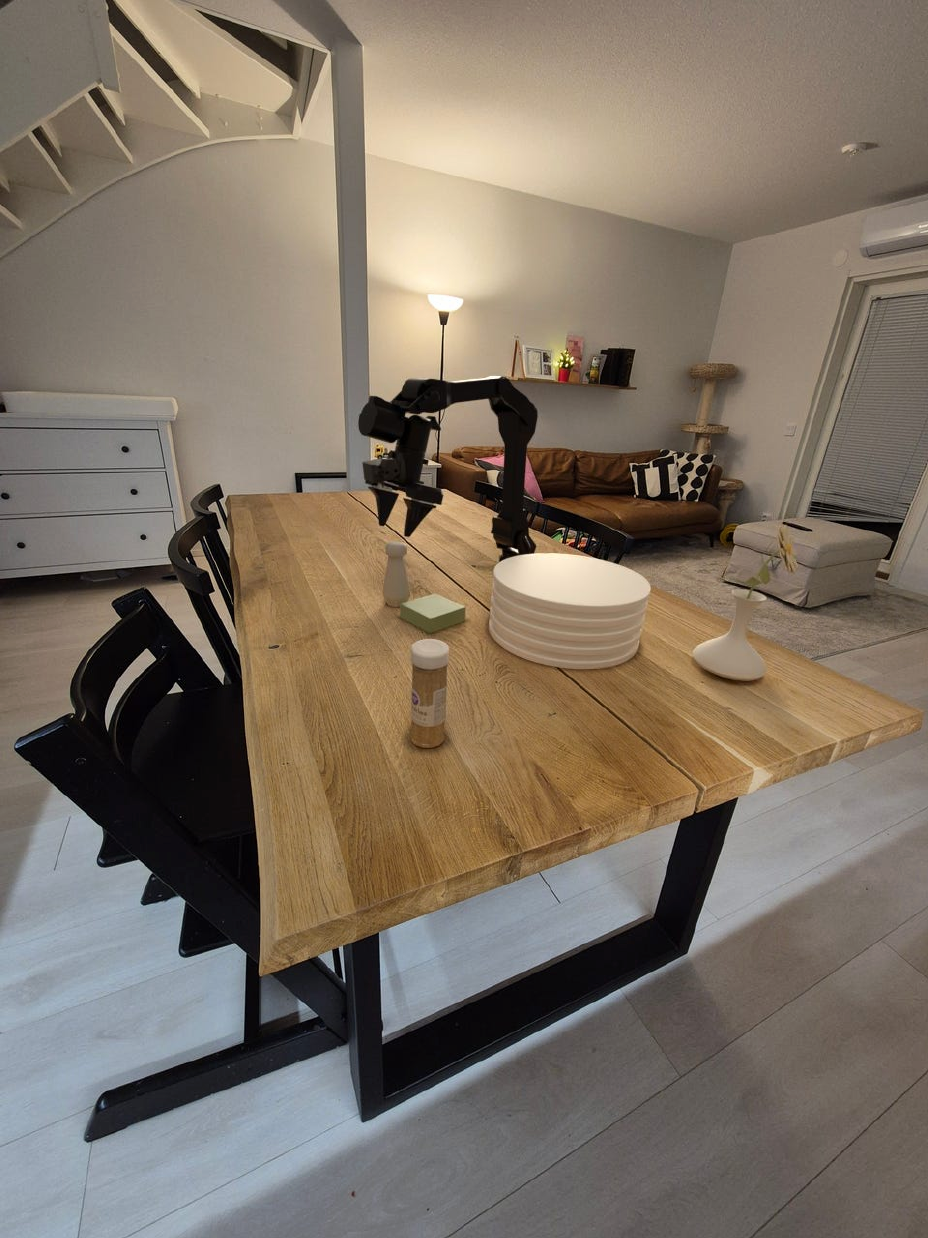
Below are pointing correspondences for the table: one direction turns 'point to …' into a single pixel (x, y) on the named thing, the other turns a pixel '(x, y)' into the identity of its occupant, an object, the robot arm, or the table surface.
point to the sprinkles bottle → (428, 692)
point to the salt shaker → (396, 575)
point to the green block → (432, 612)
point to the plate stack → (567, 610)
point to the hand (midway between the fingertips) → (393, 531)
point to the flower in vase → (744, 625)
